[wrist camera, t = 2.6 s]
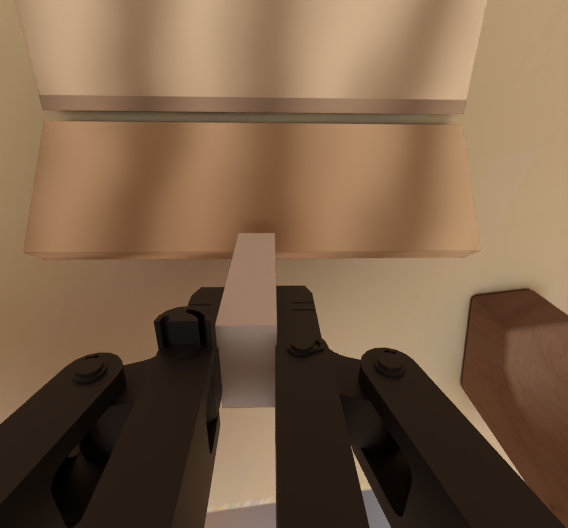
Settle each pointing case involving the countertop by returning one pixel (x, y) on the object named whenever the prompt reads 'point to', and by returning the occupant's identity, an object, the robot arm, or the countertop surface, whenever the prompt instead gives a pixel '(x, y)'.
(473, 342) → the wooden block
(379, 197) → the board
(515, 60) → the countertop surface
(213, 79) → the laid board
